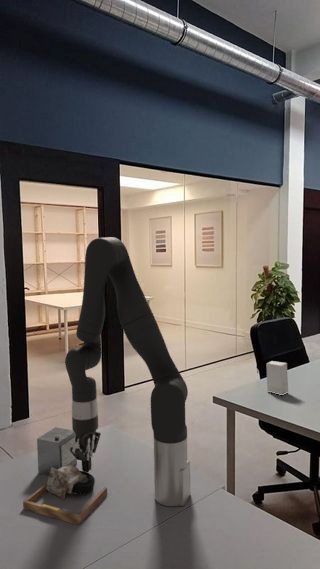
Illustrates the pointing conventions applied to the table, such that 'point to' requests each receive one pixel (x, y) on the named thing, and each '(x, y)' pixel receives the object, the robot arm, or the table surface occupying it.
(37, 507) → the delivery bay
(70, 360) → the robot arm
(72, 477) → the caster wheel
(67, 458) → the control box
